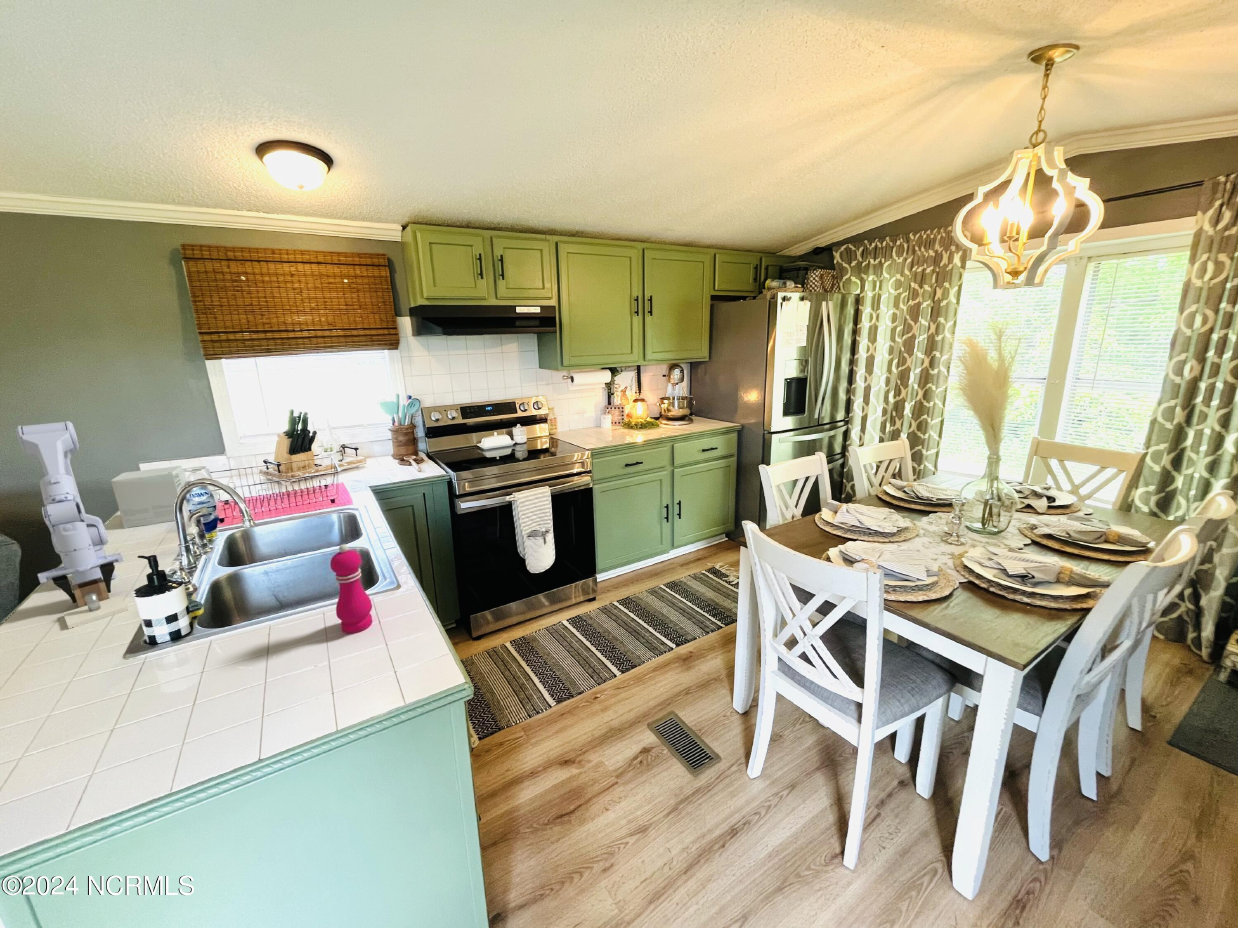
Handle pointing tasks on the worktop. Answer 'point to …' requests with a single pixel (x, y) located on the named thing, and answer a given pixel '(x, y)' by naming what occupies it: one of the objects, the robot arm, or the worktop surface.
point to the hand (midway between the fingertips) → (92, 596)
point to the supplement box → (147, 495)
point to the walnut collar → (90, 590)
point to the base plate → (94, 610)
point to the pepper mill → (351, 592)
